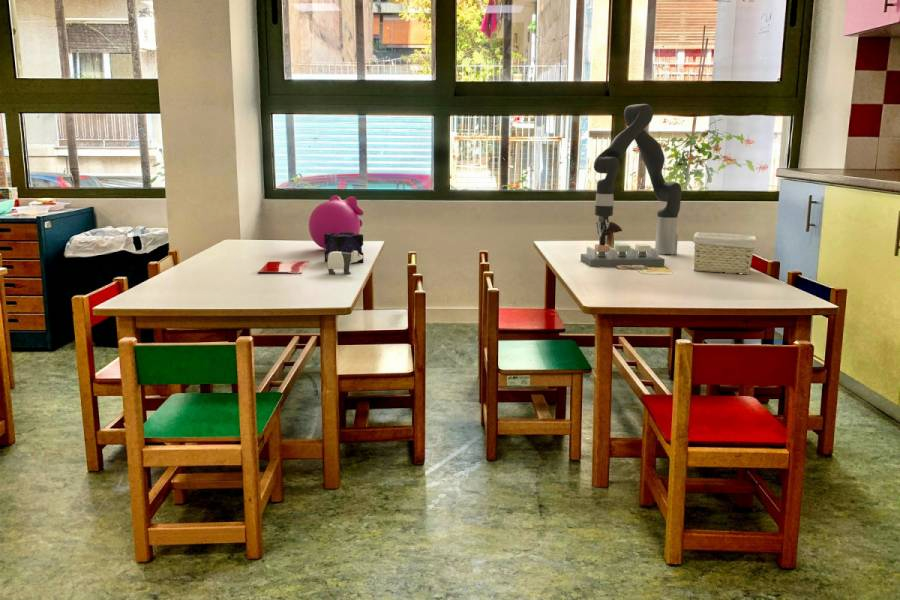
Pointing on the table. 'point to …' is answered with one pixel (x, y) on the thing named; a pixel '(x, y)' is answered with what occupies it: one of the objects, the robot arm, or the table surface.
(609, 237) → the decorative mushroom
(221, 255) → the table surface
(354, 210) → the figurine
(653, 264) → the grey shelf board
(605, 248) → the orange cube
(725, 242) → the storage basket
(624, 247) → the key sage
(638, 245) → the key ivory
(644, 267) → the strip
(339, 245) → the energy cube
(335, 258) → the giant panda
